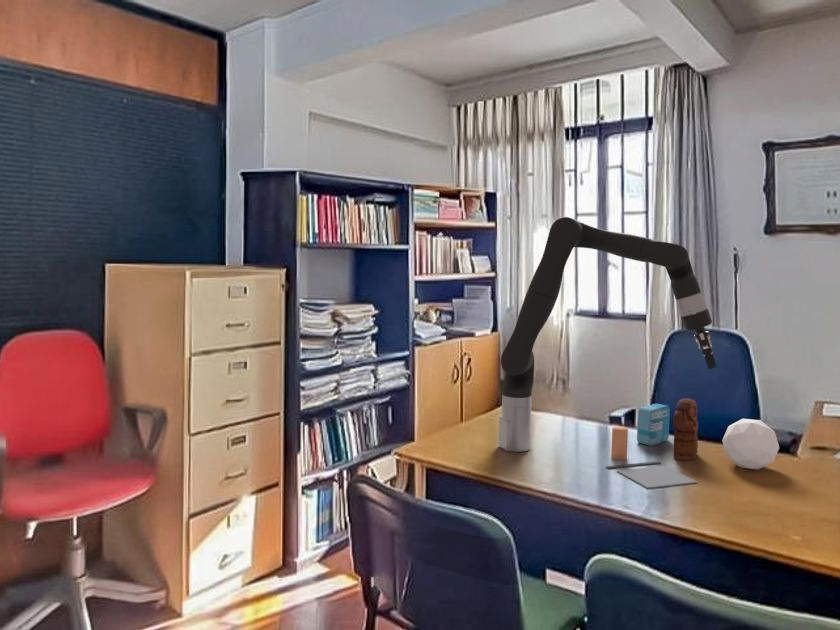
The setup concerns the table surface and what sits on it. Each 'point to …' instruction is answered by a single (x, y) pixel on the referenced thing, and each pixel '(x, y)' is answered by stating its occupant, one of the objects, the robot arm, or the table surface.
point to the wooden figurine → (685, 430)
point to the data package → (653, 424)
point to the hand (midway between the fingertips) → (712, 365)
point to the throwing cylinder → (619, 443)
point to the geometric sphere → (750, 444)
